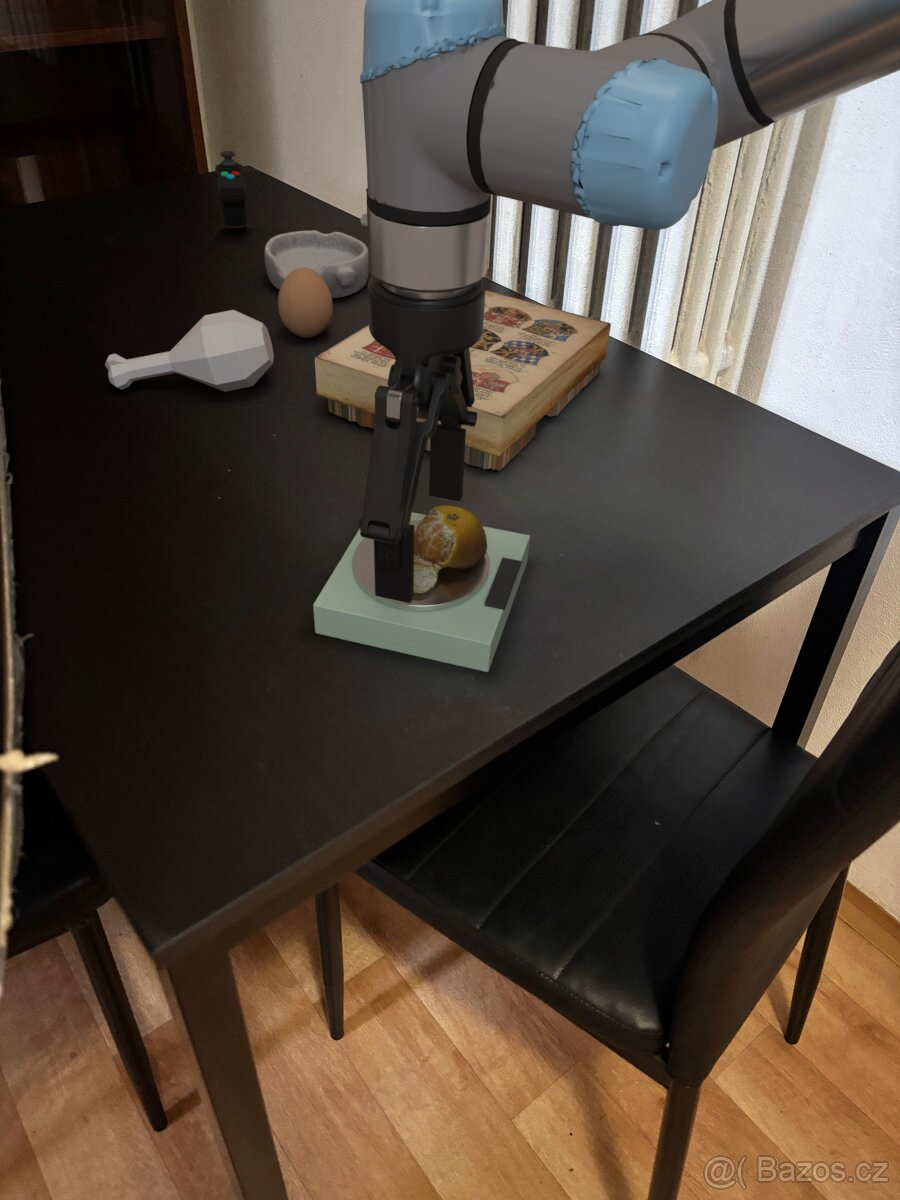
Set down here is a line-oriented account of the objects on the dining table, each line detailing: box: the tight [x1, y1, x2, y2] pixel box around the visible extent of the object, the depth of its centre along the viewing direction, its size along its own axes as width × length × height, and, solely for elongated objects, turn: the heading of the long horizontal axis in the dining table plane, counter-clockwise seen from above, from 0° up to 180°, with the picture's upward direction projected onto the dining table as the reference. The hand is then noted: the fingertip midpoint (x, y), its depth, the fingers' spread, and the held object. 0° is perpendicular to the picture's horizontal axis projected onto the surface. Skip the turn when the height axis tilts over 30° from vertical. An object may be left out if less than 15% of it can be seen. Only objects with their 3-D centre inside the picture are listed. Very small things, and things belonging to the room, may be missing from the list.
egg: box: [277, 268, 334, 339], centre depth 108 cm, size 6×6×8 cm
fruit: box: [414, 505, 487, 594], centre depth 72 cm, size 8×8×4 cm
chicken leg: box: [104, 309, 275, 393], centre depth 98 cm, size 8×18×8 cm, turn 95°
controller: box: [214, 150, 248, 231], centre depth 134 cm, size 4×12×10 cm, turn 12°
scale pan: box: [352, 520, 490, 611], centre depth 73 cm, size 11×11×1 cm
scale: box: [312, 511, 531, 673], centre depth 74 cm, size 14×14×3 cm
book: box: [314, 289, 612, 472], centre depth 101 cm, size 25×6×28 cm
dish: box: [264, 229, 370, 299], centre depth 122 cm, size 14×14×5 cm
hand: (421, 543), depth 71 cm, fingers open, 13 cm apart
